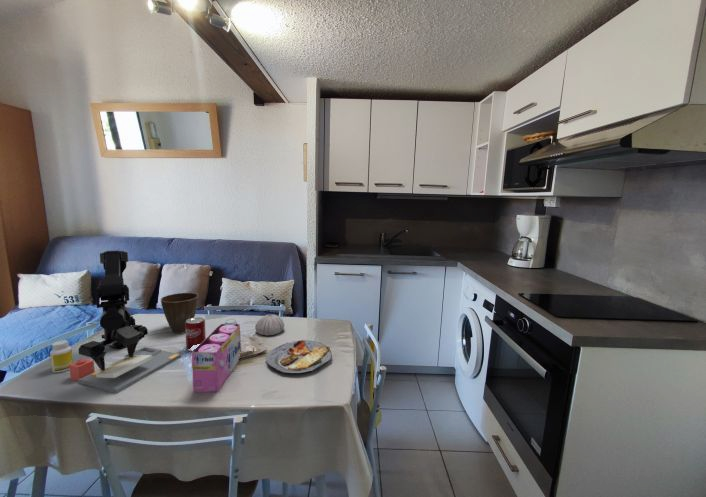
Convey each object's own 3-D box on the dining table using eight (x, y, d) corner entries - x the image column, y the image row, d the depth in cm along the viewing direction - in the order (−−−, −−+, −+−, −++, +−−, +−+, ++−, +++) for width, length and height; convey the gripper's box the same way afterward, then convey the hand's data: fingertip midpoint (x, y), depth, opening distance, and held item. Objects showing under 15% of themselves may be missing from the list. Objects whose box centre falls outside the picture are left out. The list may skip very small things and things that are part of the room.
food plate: (301, 339, 134) (301, 332, 134) (343, 355, 121) (343, 347, 120) (254, 363, 114) (254, 354, 114) (297, 386, 101) (297, 376, 100)
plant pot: (156, 331, 139) (154, 297, 137) (189, 321, 151) (187, 290, 149) (172, 339, 131) (170, 304, 129) (205, 329, 143) (204, 296, 141)
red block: (70, 378, 100) (68, 363, 100) (85, 372, 105) (84, 356, 104) (79, 381, 99) (78, 365, 98) (94, 374, 103) (93, 359, 103)
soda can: (197, 353, 120) (196, 324, 118) (182, 350, 121) (180, 322, 120) (210, 345, 127) (208, 317, 125) (194, 343, 128) (193, 316, 127)
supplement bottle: (77, 366, 108) (74, 340, 106) (58, 374, 103) (55, 347, 101) (67, 363, 109) (64, 338, 108) (48, 371, 104) (45, 344, 103)
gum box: (222, 355, 119) (221, 322, 117) (243, 355, 119) (242, 322, 117) (192, 392, 95) (190, 351, 93) (218, 392, 95) (216, 352, 93)
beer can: (227, 346, 126) (226, 319, 124) (239, 346, 127) (238, 318, 125) (223, 351, 121) (222, 323, 120) (235, 351, 122) (235, 323, 120)
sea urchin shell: (260, 339, 133) (259, 322, 132) (251, 329, 145) (251, 313, 143) (288, 333, 141) (288, 317, 140) (278, 324, 152) (278, 308, 151)
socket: (124, 358, 112) (124, 355, 111) (145, 349, 119) (145, 346, 119) (141, 362, 109) (141, 359, 109) (161, 352, 117) (161, 349, 117)
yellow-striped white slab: (96, 377, 96) (95, 373, 96) (135, 358, 108) (135, 354, 108) (114, 378, 94) (113, 373, 94) (152, 358, 106) (152, 354, 106)
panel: (78, 382, 98) (77, 373, 98) (147, 350, 121) (146, 342, 121) (117, 393, 93) (116, 382, 93) (181, 357, 116) (180, 348, 116)
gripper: (101, 334, 89) (105, 383, 91) (158, 313, 107) (160, 355, 109) (75, 328, 92) (79, 376, 94) (134, 309, 110) (137, 349, 112)
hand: (117, 363), depth 102 cm, fingers open, 9 cm apart
